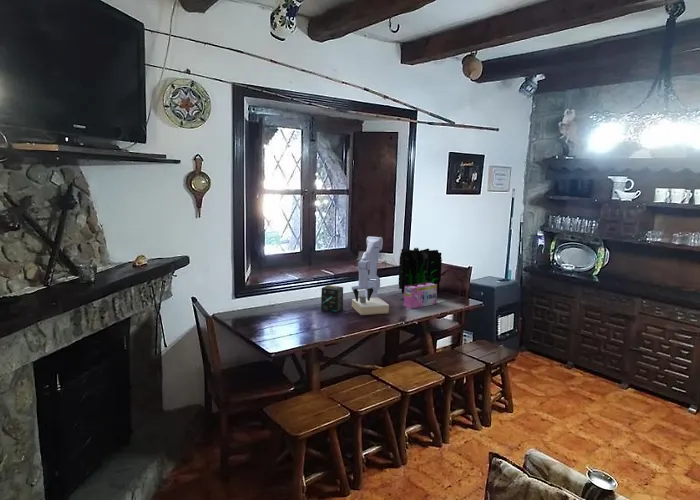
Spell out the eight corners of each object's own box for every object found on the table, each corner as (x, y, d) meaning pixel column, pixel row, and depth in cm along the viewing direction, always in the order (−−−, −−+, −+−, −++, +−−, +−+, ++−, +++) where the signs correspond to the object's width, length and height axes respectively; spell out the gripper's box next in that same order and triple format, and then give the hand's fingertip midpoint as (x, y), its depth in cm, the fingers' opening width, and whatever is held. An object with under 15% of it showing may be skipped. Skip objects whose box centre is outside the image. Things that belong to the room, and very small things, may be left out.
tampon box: (343, 309, 293) (343, 286, 291) (336, 313, 285) (337, 289, 283) (327, 306, 298) (328, 284, 296) (320, 310, 290) (321, 287, 287)
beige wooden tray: (351, 307, 299) (352, 300, 298) (378, 305, 304) (378, 298, 303) (361, 315, 282) (361, 308, 281) (388, 313, 287) (388, 306, 287)
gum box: (429, 301, 318) (430, 281, 316) (438, 303, 312) (439, 284, 310) (403, 305, 305) (404, 285, 303) (411, 308, 298) (412, 288, 296)
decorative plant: (446, 291, 347) (448, 251, 342) (423, 298, 325) (425, 255, 321) (414, 284, 366) (416, 246, 361) (390, 290, 345) (392, 250, 340)
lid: (352, 300, 298) (352, 292, 297) (378, 298, 303) (378, 291, 303) (361, 308, 281) (361, 300, 280) (388, 306, 287) (389, 298, 286)
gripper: (354, 281, 282) (353, 303, 284) (376, 280, 287) (375, 301, 289) (350, 278, 289) (350, 300, 291) (372, 277, 293) (371, 298, 295)
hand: (362, 300), depth 290 cm, fingers open, 7 cm apart
